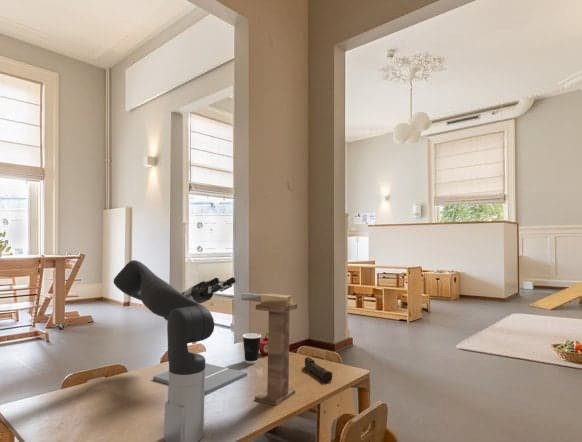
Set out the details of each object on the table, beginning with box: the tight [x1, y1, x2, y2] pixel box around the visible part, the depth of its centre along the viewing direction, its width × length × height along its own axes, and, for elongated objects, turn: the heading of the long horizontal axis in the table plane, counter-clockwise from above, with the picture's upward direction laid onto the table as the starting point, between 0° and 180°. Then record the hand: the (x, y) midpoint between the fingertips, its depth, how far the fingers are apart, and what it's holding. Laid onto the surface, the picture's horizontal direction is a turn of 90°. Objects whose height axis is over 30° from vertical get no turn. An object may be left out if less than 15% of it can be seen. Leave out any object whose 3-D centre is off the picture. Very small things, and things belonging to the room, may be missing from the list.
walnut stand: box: [254, 302, 298, 406], centre depth 130 cm, size 12×10×30 cm
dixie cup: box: [242, 332, 262, 364], centre depth 167 cm, size 8×8×11 cm
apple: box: [259, 330, 268, 355], centre depth 179 cm, size 8×7×10 cm
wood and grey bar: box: [240, 292, 294, 307], centre depth 134 cm, size 4×19×3 cm, turn 59°
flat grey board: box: [152, 362, 248, 396], centre depth 147 cm, size 22×26×1 cm
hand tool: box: [304, 356, 333, 383], centre depth 153 cm, size 19×4×5 cm, turn 21°
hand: (226, 279), depth 145 cm, fingers open, 8 cm apart
